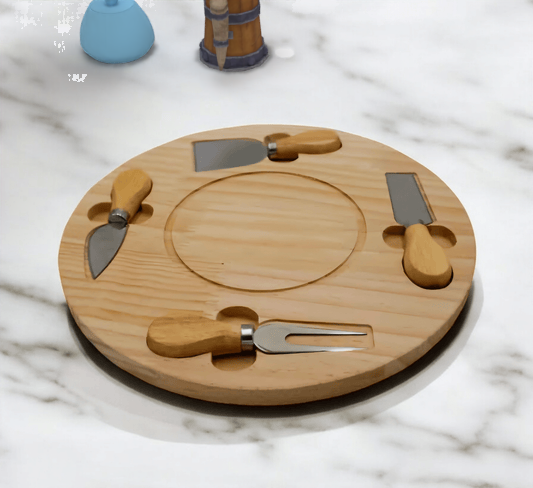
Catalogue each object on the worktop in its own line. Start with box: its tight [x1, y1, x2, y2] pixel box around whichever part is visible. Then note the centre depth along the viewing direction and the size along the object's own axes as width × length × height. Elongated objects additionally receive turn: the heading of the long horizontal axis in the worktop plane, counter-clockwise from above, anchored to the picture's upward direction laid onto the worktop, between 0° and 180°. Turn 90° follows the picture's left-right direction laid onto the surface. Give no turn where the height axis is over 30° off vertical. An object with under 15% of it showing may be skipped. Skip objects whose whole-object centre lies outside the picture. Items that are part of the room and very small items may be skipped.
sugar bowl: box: [79, 0, 156, 65], centre depth 131 cm, size 15×15×12 cm
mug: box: [198, 0, 269, 73], centre depth 125 cm, size 19×14×20 cm
